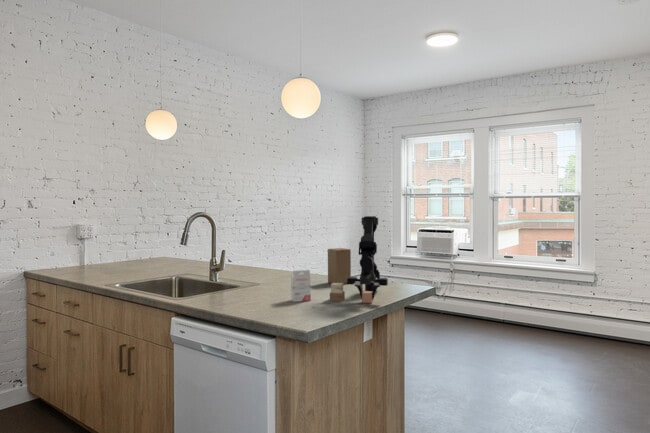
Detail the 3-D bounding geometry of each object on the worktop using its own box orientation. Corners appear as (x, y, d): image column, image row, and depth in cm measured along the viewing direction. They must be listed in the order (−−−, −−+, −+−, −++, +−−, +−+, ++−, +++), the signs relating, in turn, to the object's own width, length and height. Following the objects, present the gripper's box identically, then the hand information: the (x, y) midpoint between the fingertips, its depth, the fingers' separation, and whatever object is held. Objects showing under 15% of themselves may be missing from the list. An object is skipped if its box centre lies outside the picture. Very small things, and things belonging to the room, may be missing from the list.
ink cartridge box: (308, 298, 227) (308, 268, 226) (310, 300, 222) (310, 270, 221) (291, 299, 224) (290, 269, 224) (293, 301, 219) (292, 270, 219)
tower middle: (333, 291, 226) (333, 282, 226) (343, 291, 225) (343, 283, 225) (330, 292, 221) (330, 284, 221) (341, 293, 220) (341, 284, 220)
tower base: (332, 298, 227) (332, 290, 227) (344, 299, 225) (344, 291, 225) (329, 301, 221) (329, 293, 221) (342, 302, 219) (342, 293, 219)
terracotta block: (363, 300, 220) (363, 291, 220) (373, 300, 219) (373, 291, 219) (362, 302, 216) (362, 292, 216) (371, 302, 215) (371, 293, 215)
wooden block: (351, 283, 270) (350, 249, 269) (336, 285, 265) (336, 250, 264) (341, 281, 278) (341, 247, 278) (327, 282, 273) (327, 248, 273)
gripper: (344, 268, 211) (344, 302, 212) (385, 269, 207) (385, 303, 207) (349, 265, 222) (349, 297, 223) (388, 265, 218) (388, 299, 218)
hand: (367, 299), depth 217 cm, fingers closed on terracotta block, 4 cm apart
